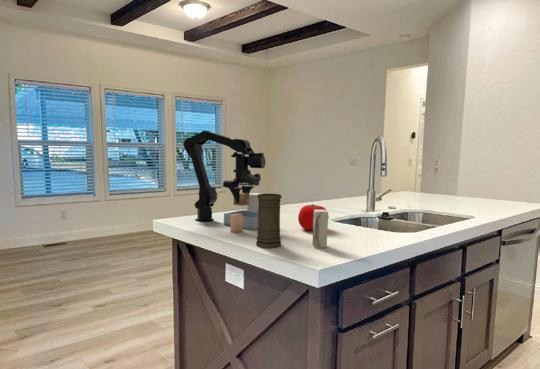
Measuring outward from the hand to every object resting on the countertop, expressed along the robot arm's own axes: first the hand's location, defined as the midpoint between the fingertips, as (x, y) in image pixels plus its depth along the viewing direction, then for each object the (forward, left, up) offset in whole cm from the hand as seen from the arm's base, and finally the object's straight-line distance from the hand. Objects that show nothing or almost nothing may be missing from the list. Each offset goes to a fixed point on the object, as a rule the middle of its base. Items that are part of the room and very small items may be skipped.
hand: (241, 202), depth 171 cm
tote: (+4, 0, -10) cm, 11 cm away
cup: (-4, +15, -10) cm, 18 cm away
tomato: (+31, +11, -10) cm, 34 cm away
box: (+47, -12, -10) cm, 50 cm away
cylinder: (+9, -13, -10) cm, 19 cm away
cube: (0, 0, -1) cm, 1 cm away
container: (+32, -22, -10) cm, 40 cm away
